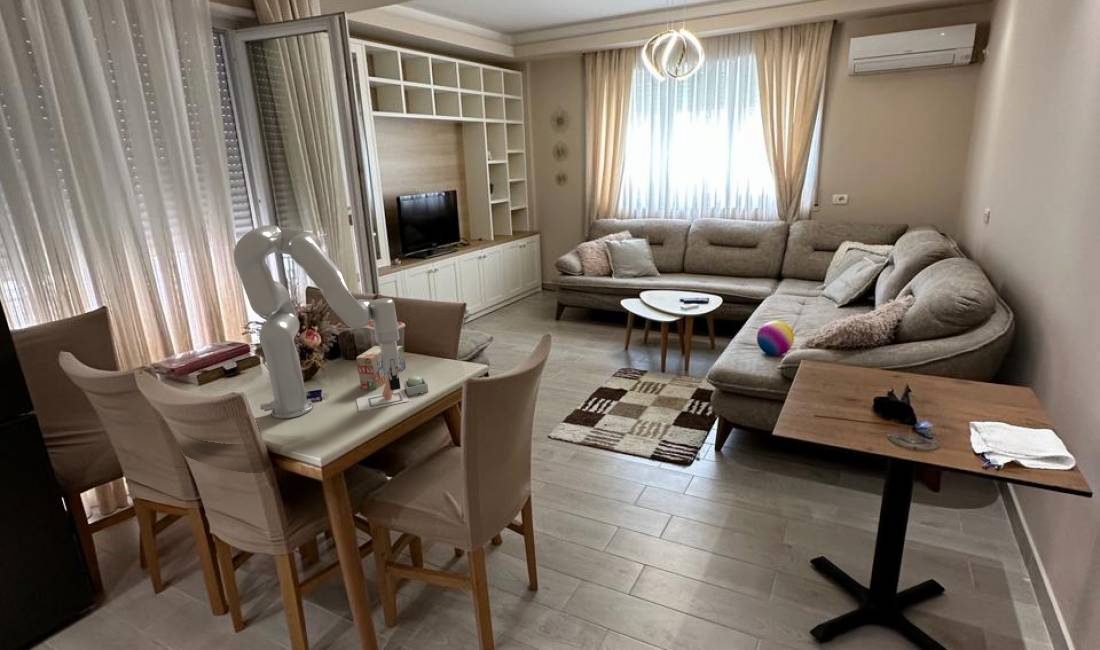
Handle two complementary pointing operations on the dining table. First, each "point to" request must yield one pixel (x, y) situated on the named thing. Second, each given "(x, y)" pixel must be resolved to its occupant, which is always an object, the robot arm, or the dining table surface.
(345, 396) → the dining table surface
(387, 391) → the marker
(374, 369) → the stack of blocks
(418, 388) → the button housing
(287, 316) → the robot arm
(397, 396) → the sheet
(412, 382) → the button
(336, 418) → the dining table surface
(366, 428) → the dining table surface
